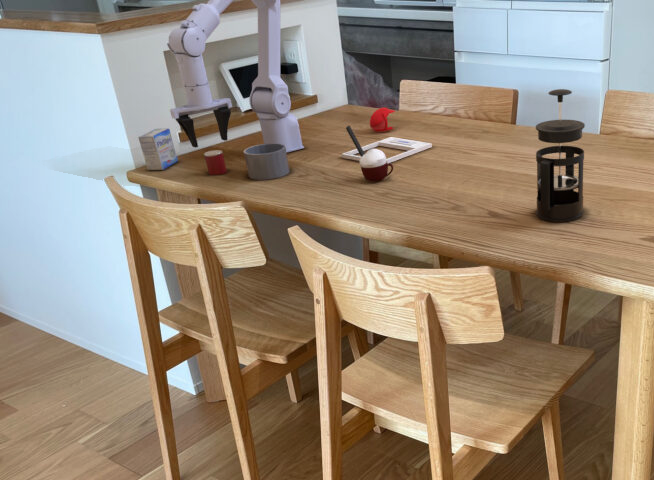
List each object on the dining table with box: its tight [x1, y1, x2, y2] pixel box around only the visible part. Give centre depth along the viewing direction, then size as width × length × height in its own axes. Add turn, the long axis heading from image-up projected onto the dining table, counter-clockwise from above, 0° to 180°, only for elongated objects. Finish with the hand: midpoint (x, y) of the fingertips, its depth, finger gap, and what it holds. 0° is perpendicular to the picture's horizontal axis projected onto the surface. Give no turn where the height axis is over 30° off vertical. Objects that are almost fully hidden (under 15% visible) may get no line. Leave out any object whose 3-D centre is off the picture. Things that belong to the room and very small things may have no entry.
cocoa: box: [345, 125, 394, 182], centre depth 171 cm, size 10×6×12 cm, turn 50°
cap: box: [369, 107, 395, 133], centre depth 212 cm, size 8×6×6 cm
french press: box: [535, 88, 586, 223], centre depth 141 cm, size 12×9×23 cm
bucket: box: [243, 143, 291, 181], centre depth 182 cm, size 10×10×6 cm
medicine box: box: [137, 127, 179, 171], centre depth 194 cm, size 8×4×9 cm, turn 168°
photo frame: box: [341, 136, 433, 164], centre depth 193 cm, size 15×1×18 cm
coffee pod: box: [203, 149, 228, 176], centre depth 187 cm, size 4×4×5 cm
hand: (210, 143), depth 184 cm, fingers open, 7 cm apart
